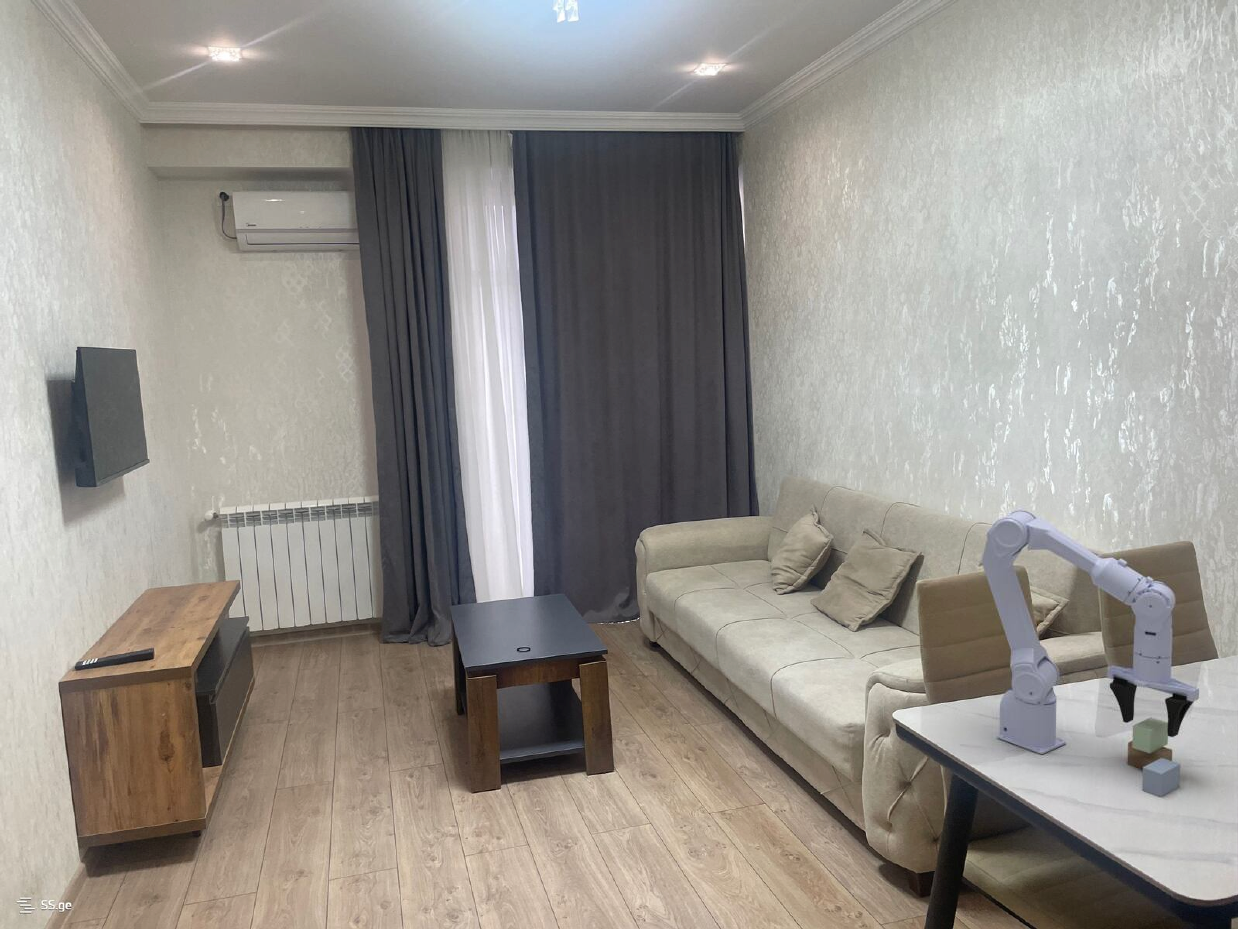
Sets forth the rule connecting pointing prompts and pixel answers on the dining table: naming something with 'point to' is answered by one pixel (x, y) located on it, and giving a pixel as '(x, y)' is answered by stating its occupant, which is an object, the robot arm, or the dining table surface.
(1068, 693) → the dining table surface
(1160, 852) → the dining table surface
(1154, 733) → the sage brick
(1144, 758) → the walnut brick
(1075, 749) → the dining table surface
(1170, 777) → the slate brick
